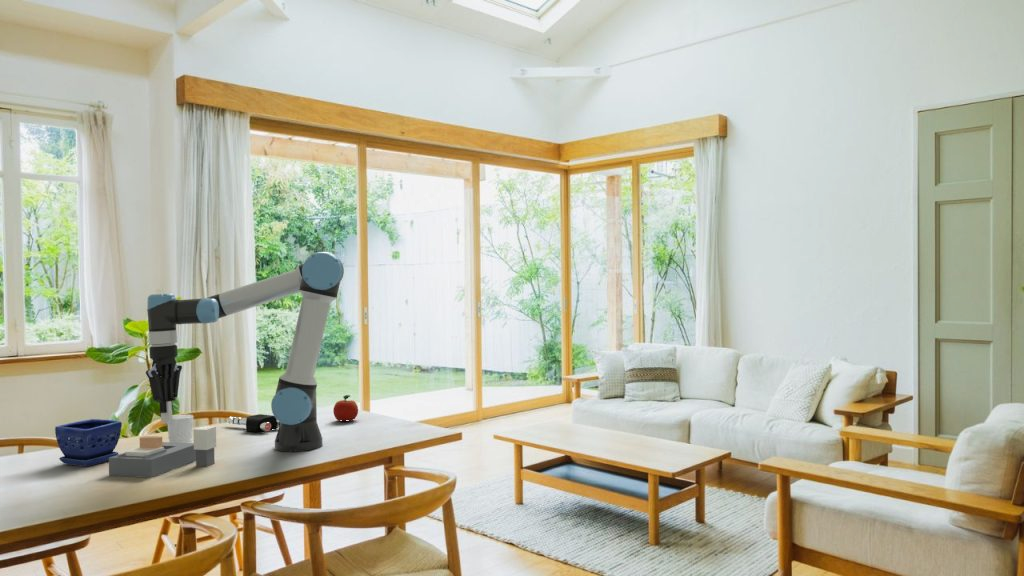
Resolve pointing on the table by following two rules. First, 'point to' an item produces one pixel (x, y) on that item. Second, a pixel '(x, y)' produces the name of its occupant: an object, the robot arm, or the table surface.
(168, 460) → the socket
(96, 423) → the flower pot
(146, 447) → the tan and grey block
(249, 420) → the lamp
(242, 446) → the table surface
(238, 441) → the table surface
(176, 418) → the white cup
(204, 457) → the plug
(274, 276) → the robot arm
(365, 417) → the table surface
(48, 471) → the table surface
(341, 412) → the fruit
